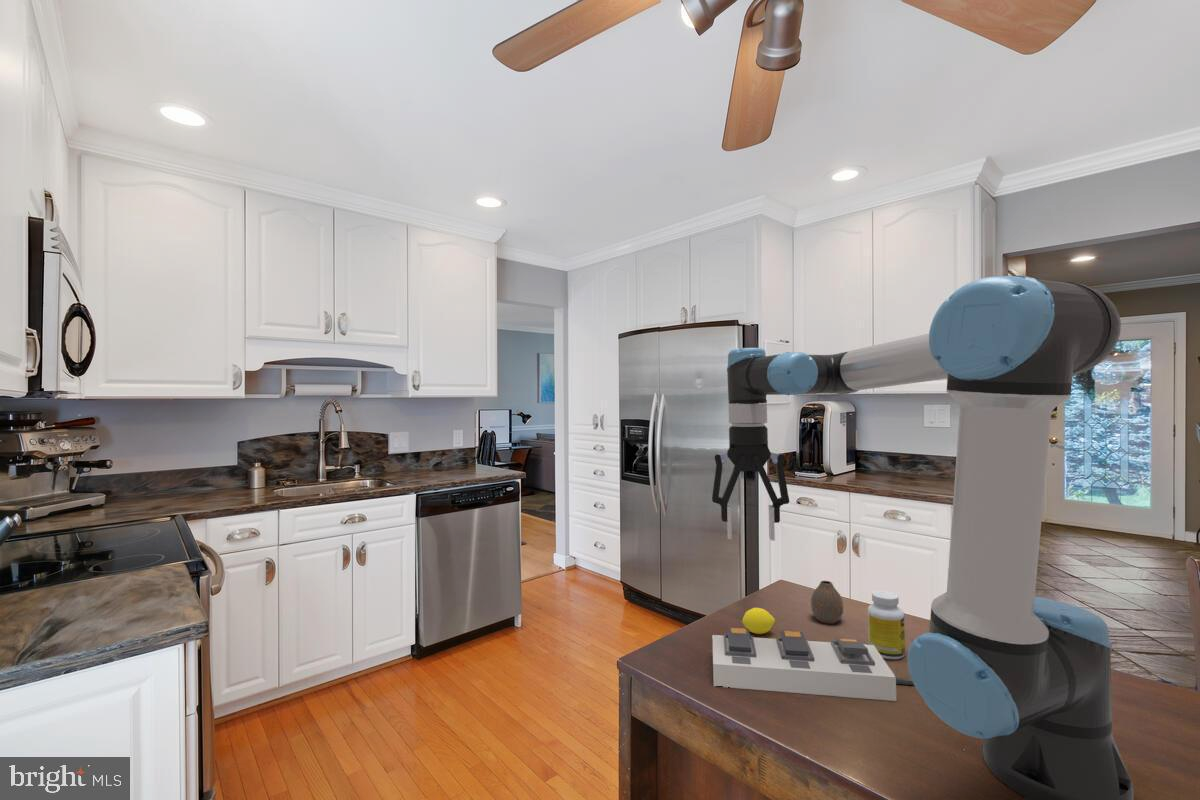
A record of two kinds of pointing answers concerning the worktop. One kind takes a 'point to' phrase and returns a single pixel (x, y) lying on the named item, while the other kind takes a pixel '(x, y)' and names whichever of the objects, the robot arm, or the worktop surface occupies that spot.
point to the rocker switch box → (804, 670)
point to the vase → (827, 603)
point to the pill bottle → (886, 625)
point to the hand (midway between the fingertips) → (750, 537)
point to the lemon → (758, 620)
